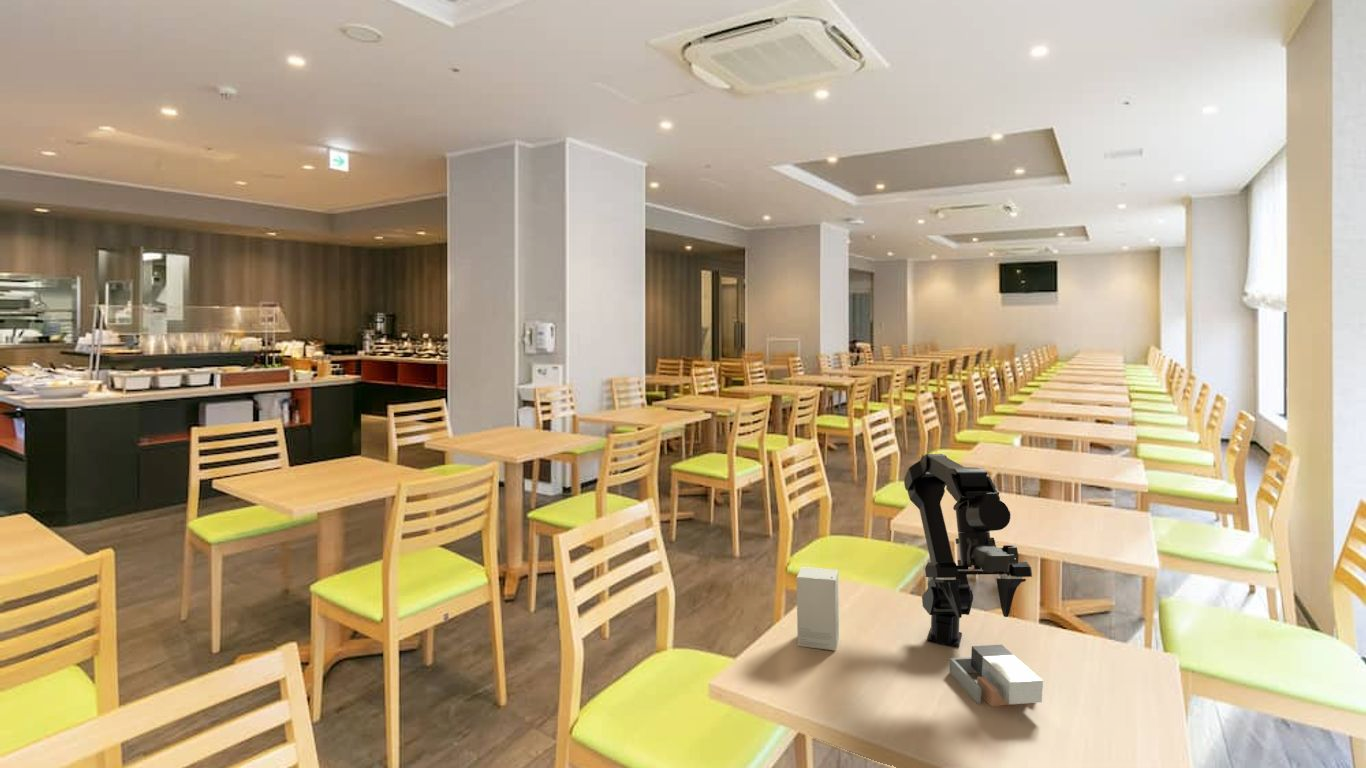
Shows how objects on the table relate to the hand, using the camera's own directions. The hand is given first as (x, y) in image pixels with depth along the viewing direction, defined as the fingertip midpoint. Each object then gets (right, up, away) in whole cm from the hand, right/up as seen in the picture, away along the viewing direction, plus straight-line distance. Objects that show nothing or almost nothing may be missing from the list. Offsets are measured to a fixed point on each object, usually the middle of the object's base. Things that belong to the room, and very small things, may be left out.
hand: (982, 617), depth 132 cm
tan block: (+2, -14, -4) cm, 14 cm away
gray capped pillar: (+3, -9, -11) cm, 15 cm away
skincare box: (-28, -12, +18) cm, 35 cm away
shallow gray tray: (+2, -13, 0) cm, 13 cm away
